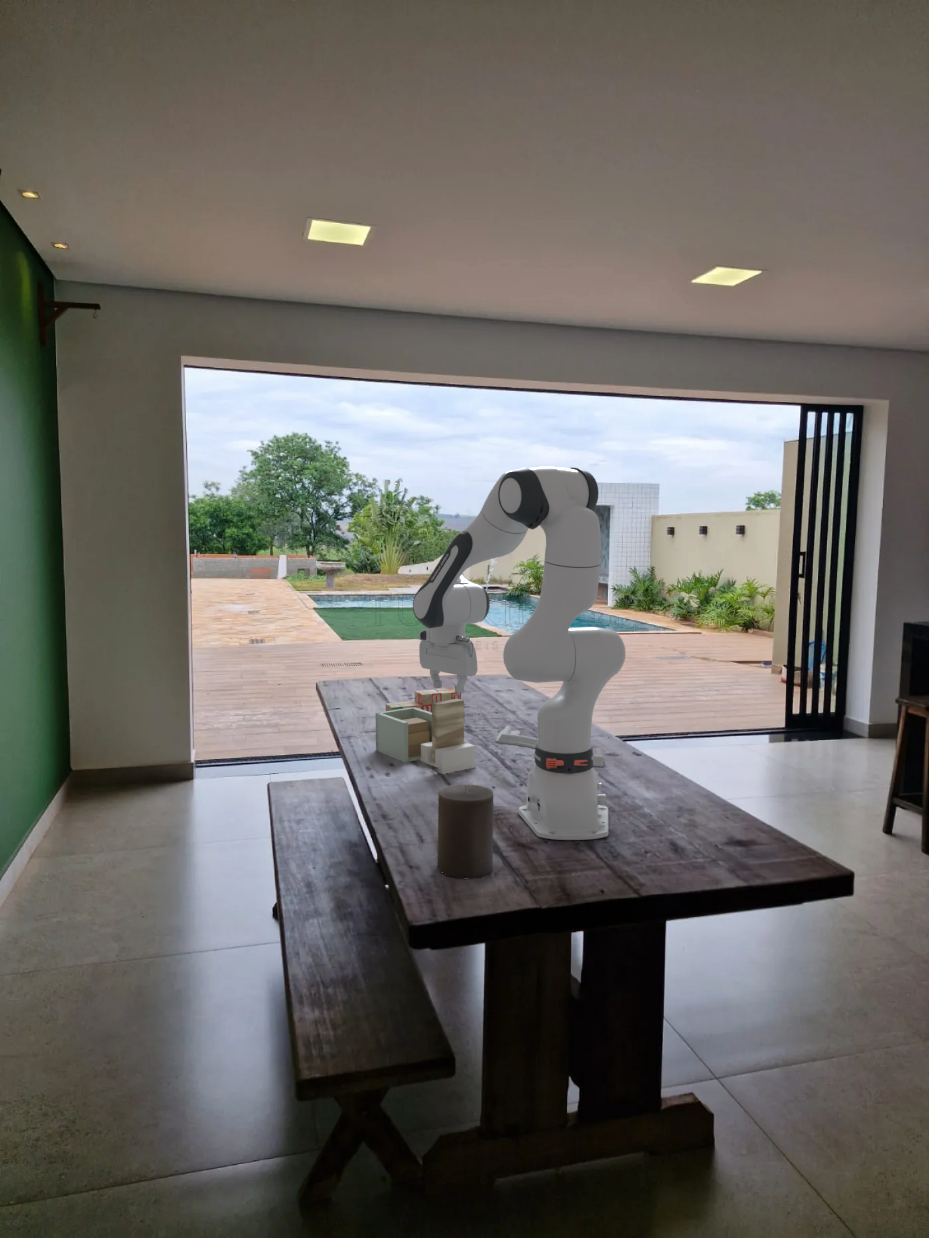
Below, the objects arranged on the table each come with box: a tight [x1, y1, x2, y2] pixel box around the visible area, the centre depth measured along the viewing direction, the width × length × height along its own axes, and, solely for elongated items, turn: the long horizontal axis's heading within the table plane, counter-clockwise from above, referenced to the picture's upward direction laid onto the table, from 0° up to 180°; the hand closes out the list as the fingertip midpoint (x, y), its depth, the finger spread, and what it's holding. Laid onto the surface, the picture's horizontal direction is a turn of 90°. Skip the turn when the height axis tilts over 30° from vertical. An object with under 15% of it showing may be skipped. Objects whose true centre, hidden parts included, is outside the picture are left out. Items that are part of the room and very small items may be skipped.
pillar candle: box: [437, 783, 494, 879], centre depth 143 cm, size 10×10×15 cm
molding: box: [495, 725, 605, 768], centre depth 221 cm, size 42×12×3 cm, turn 35°
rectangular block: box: [432, 698, 465, 763], centre depth 205 cm, size 2×8×15 cm, turn 126°
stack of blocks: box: [385, 687, 462, 713], centre depth 239 cm, size 21×6×12 cm, turn 112°
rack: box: [375, 707, 432, 763], centre depth 214 cm, size 14×12×11 cm
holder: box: [419, 742, 477, 775], centre depth 205 cm, size 10×10×6 cm
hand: (448, 690), depth 203 cm, fingers open, 8 cm apart
